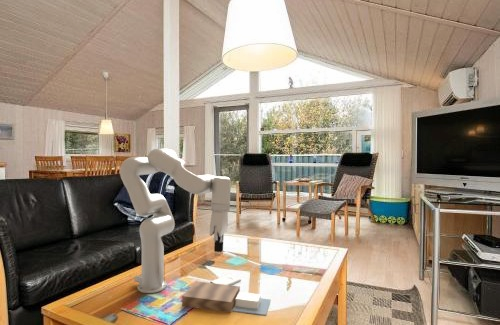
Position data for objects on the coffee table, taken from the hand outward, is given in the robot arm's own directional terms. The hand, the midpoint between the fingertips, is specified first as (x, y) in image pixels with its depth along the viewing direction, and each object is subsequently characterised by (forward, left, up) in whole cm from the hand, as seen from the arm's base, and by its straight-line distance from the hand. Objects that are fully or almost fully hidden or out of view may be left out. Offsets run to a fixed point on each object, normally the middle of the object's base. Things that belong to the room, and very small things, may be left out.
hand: (218, 251), depth 122 cm
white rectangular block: (+13, 0, -19) cm, 23 cm away
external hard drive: (-2, +18, -22) cm, 28 cm away
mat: (+15, 0, -21) cm, 25 cm away
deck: (-2, 0, -21) cm, 21 cm away
